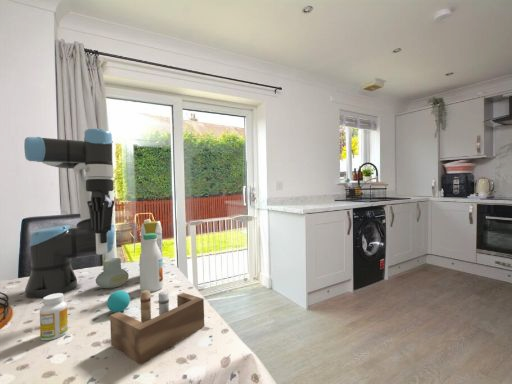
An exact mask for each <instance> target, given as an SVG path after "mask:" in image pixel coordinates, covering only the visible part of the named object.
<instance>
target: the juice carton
mask: <svg viewBox="0 0 512 384" xmlns="http://www.w3.org/2000/svg"><path fill="white" fill-rule="evenodd" d="M149 233H156V234H157V240H156V242H157V245H158V247H159V249H160V251H161V254H162V268H163V265H164V261H163V260H164V259H163V258H164V257H163V228H162V223H161V221H160V220H153V221H152V220H151V219H150V218H148V219H144V220H143V222H142V223H141V227H140V250H141V251H142V249H143V246H144V239H143V235H144V234H149ZM141 251H140V252H141Z"/></svg>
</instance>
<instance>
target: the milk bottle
mask: <svg viewBox="0 0 512 384" xmlns="http://www.w3.org/2000/svg"><path fill="white" fill-rule="evenodd" d="M143 239H144V246H143V249H142V251H140V254H139V290H140V292H142V291H146V290H149V291H150V293H151V292H152V293H153V292H157V291H159V290H161V289H162V288H163V287H164V285H163V284H164V276H163V274H164V273H163V272H164V269H163V267H162V254H163V253H162V254H161V251H160V249H159V247H158V245H157V242H156V240H157V234H156V233H149V234H144V235H143Z"/></svg>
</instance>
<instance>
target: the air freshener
mask: <svg viewBox="0 0 512 384" xmlns="http://www.w3.org/2000/svg"><path fill="white" fill-rule="evenodd" d="M102 266H103V267H102V270H103V271H102V272H100V273H99V274H98V275H97V277H96V278H95V284H96V285H97V286H98V287H99V288H102V289H117V288H119V287H121V286H123V284H125V283H126V282H127V281H128V279H129V277H130V276H129V272H127V270H126V269H123V268H122V259H121V258H120V257H113V258H112V257H111V258H107V259H105V260H104V261H103V262H102Z"/></svg>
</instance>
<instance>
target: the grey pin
mask: <svg viewBox="0 0 512 384" xmlns="http://www.w3.org/2000/svg"><path fill="white" fill-rule="evenodd" d="M169 297H170V296H169V291H165V290H164V291H160V292H159V293H158V316H159V315H161V314H163V313H165V312H168V311H170V306H169V305H170V304H169V302H170V301H169V300H170V298H169Z"/></svg>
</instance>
